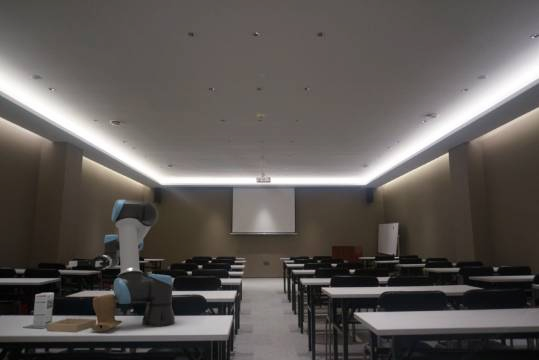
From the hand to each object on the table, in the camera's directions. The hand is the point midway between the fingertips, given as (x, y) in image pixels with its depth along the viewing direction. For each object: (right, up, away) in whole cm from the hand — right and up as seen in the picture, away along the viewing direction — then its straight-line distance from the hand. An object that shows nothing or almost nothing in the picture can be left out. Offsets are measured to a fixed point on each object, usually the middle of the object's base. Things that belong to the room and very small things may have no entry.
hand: (82, 264), depth 192 cm
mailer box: (+6, -26, -13) cm, 30 cm away
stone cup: (+21, -24, -23) cm, 40 cm away
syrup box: (-12, -26, -14) cm, 32 cm away
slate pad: (-12, -26, -14) cm, 32 cm away
